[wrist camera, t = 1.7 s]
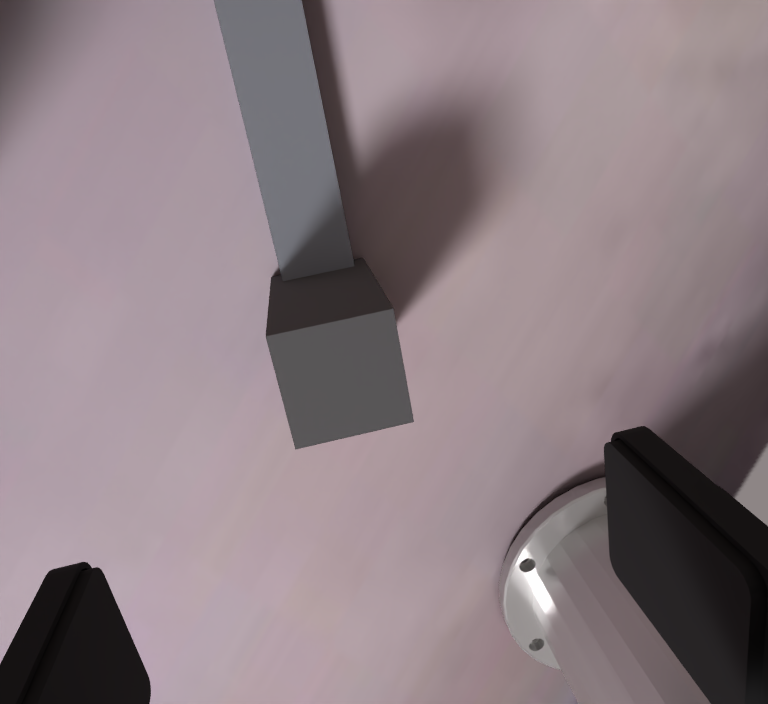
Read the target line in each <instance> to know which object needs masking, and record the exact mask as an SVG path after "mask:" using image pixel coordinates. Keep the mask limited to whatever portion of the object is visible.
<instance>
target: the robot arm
mask: <svg viewBox="0 0 768 704" xmlns="http://www.w3.org/2000/svg"><path fill="white" fill-rule="evenodd" d="M604 460H605V477H603V478H598V479H595V480H593V481H590V482H587V483H585V484H582V485H579V486H577V487H575V488H573V489H571V490H569V491H567V492H566V493H564V494H562V495H560V496H559V497H557V498H555V499H554V500H553V501H551V502H550V503H549V504H548V505H546V506H545V507H544V508H542V509H541V510H540V511H539V512H537V513H536V515H535V516H534V517H533V518H532V519H531V520H530V521H529V522H528V523H527V524H526V525H525V526H524V527H523V529H522V530H521V531H520V533H519V534H518V536H517V537H516V539H515V541H514V542H513V544H512V545H511V547H510V549H509V551H508V554H507V556H506V558H505V561H504V563H503V565H502V570H501V575H500V580H499V603H500V606H501V610H502V614H503V618H504V620H505V622H506V624H507V626H508V628H509V630H510V633H511V635H512V637H513V638H514V639H515V641H516V642H517V643H518V645H519V646H520V647H521V649H522V650H523V651H525V652H526V653H527V654H528V655H530V656H531V657H532V658H533V659H534V660H536V661H538V662H540V663H542V664H545V665H547V666H549V667H551V668H555V669H559V670H561V671H562V672H563V674H564V676H565V678H566V680H567V682H568V684H569V686H570V688H571V690H572V692H573V694H574V696H575V698H576V700H577V702H578V704H768V526H767V525H765V524H764V523H763V522H762V521H761V520H759V519H758V518H757V517H756V516H755V515H753V514H752V513H751V512H750V511H749V510H747V509H746V508H745V507H743V505H741V504H740V503H739V502H738V501H737V500H735V499H734V498H733V497H732V496H731V495H729V494H728V493H727V492H726V491H725V490H723V489H722V488H720V487H719V486H717V485H716V484H714V483H713V482H712V481H711V480H710V479H708V478H707V477H706V476H705V475H704V474H702V473H701V472H700V471H699V470H698V469H696V468H695V467H694V466H693V465H692V464H690V463H689V462H688V461H687V460H686V459H684V458H683V457H682V456H681V455H680V454H678V453H677V452H676V451H675V450H674V449H672V448H671V447H670V446H669V445H668V444H666V443H665V442H664V441H663V440H662V439H660V438H659V437H658V436H657V435H656V434H655V433H653V432H652V431H651V430H650V429H648V428H647V427H645V426H641V427H637V428H632V429H628V430H624V431H620V432H616V433H614V434H613V435H612V438H611V442H608V443H606V444H605V446H604ZM150 696H151V688H150V680H149V677H148V674H147V672H146V670H145V667H144V665H143V663H142V660H141V658H140V656H139V653H138V651H137V649H136V647H135V644H134V642H133V640H132V637H131V635H130V633H129V631H128V628H127V626H126V624H125V621H124V619H123V617H122V615H121V612H120V610H119V608H118V605H117V603H116V601H115V599H114V596H113V594H112V592H111V589H110V587H109V585H108V583H107V580H106V578H105V576H104V574H103V572H102V570H101V569H100V568H97V567H96V568H91V566H90V565H89V564H88V563H86V562H81V563H77V564H73V565H69V566H65V567H61V568H57V569H53V570H51V571H49V572H48V574H47V575H46V577H45V578H44V580H43V582H42V584H41V586H40V588H39V590H38V592H37V594H36V596H35V598H34V600H33V602H32V604H31V606H30V608H29V609H28V611H27V613H26V615H25V617H24V619H23V621H22V623H21V625H20V627H19V629H18V631H17V633H16V635H15V637H14V639H13V640H12V642H11V644H10V646H9V648H8V650H7V652H6V654H5V656H4V658H3V660H2V662H1V664H0V704H149V702H150Z"/></svg>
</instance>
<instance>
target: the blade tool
mask: <svg viewBox="0 0 768 704" xmlns="http://www.w3.org/2000/svg"><path fill="white" fill-rule="evenodd" d="M214 3H215V7H216V11H217V15H218V19H219V23H220V28H221V32H222V36H223V40H224V44H225V48H226V52H227V56H228V60H229V64H230V68H231V72H232V76H233V81H234V85H235V89H236V93H237V97H238V101H239V105H240V109H241V113H242V117H243V121H244V125H245V129H246V134H247V138H248V142H249V146H250V150H251V154H252V158H253V162H254V166H255V170H256V174H257V178H258V182H259V187H260V191H261V195H262V199H263V203H264V207H265V211H266V215H267V219H268V223H269V227H270V231H271V235H272V240H273V244H274V248H275V252H276V256H277V260H278V264H279V268H280V272H281V275H280V276H275V277H271V285H270V296H269V307H268V318H267V328H266V339H267V343H268V347H269V351H270V355H271V358H272V362H273V366H274V370H275V373H276V377H277V381H278V385H279V389H280V392H281V396H282V400H283V404H284V407H285V411H286V415H287V419H288V423H289V426H290V430H291V434H292V438H293V441H294V445H295V449H299V448H304V447H308V446H312V445H317V444H321V443H325V442H330V441H334V440H338V439H342V438H347V437H351V436H355V435H360V434H364V433H368V432H373V431H377V430H381V429H385V428H390V427H394V426H398V425H403V424H407V423H411V422H414V420H413V414H412V408H411V403H410V397H409V392H408V386H407V381H406V375H405V370H404V364H403V359H402V353H401V348H400V342H399V337H398V331H397V326H396V320H395V315H394V309H393V307H392V305H391V304H390V302H389V300H388V299H387V297H386V295H385V294H384V292H383V290H382V289H381V287H380V285H379V284H378V282H377V280H376V279H375V277H374V275H373V274H372V272H371V270H370V268H369V267H368V265H367V263H366V262H365V260H364V258H360V259H356V260H353V255H352V250H351V245H350V240H349V235H348V230H347V225H346V220H345V215H344V210H343V205H342V200H341V195H340V190H339V185H338V180H337V175H336V170H335V165H334V160H333V155H332V150H331V145H330V140H329V135H328V130H327V125H326V120H325V115H324V110H323V105H322V100H321V95H320V90H319V85H318V80H317V75H316V70H315V65H314V60H313V55H312V50H311V45H310V40H309V35H308V30H307V25H306V20H305V15H304V9H303V4H302V0H214Z"/></svg>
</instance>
